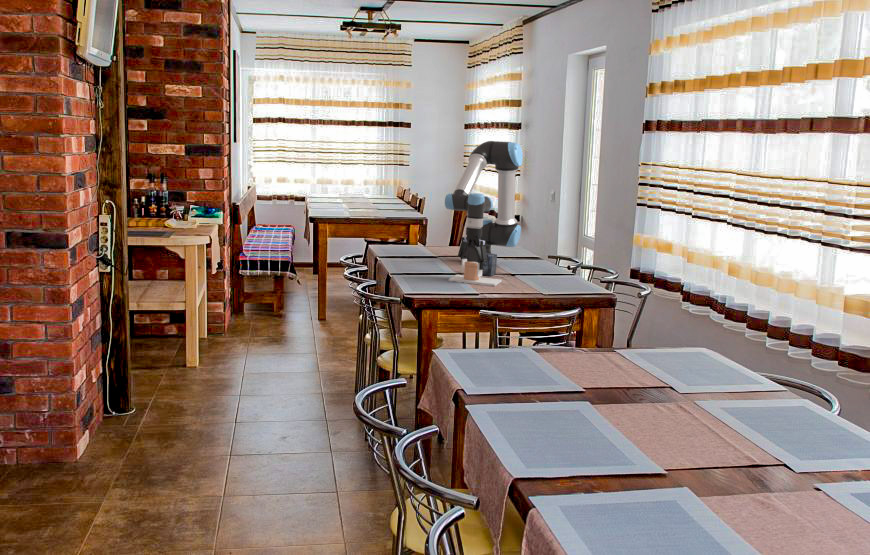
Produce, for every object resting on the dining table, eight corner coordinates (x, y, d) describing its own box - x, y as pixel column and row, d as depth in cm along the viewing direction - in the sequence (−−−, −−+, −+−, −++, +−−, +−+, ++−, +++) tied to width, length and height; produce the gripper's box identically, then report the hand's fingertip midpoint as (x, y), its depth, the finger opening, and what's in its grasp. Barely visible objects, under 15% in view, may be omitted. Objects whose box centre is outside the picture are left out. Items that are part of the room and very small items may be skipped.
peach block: (460, 277, 394) (461, 260, 393) (471, 276, 399) (472, 260, 398) (471, 280, 389) (472, 263, 388) (482, 279, 394) (483, 262, 392)
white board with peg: (456, 276, 403) (457, 263, 402) (501, 281, 396) (502, 268, 395) (448, 281, 391) (449, 267, 390) (494, 286, 384) (495, 272, 383)
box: (476, 274, 412) (477, 253, 410) (481, 273, 417) (482, 251, 415) (490, 276, 408) (492, 255, 406) (495, 275, 413) (497, 253, 411)
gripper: (451, 224, 395) (449, 271, 399) (486, 230, 379) (482, 279, 383) (463, 223, 400) (460, 270, 404) (497, 229, 384) (494, 278, 388)
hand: (471, 274), depth 394 cm, fingers open, 10 cm apart
